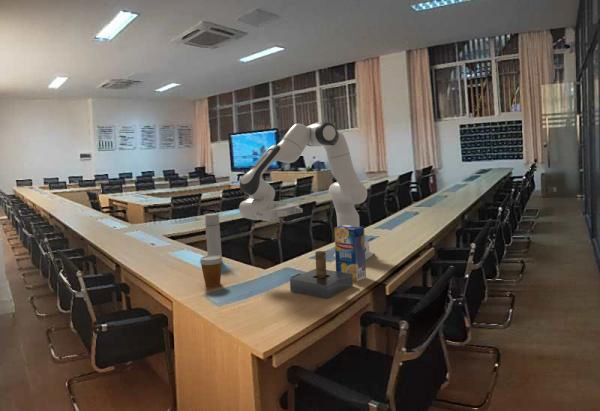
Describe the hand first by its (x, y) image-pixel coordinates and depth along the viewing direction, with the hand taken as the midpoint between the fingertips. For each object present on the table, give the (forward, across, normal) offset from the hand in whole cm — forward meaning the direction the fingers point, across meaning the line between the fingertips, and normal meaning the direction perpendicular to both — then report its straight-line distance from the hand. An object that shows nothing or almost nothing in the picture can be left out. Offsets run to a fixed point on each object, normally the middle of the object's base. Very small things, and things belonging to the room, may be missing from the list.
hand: (294, 212), depth 185 cm
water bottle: (-62, +8, +30) cm, 69 cm away
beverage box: (+15, +18, +31) cm, 38 cm away
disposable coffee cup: (-31, -20, +30) cm, 48 cm away
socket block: (+13, -1, +30) cm, 33 cm away
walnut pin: (+13, -1, +29) cm, 32 cm away
